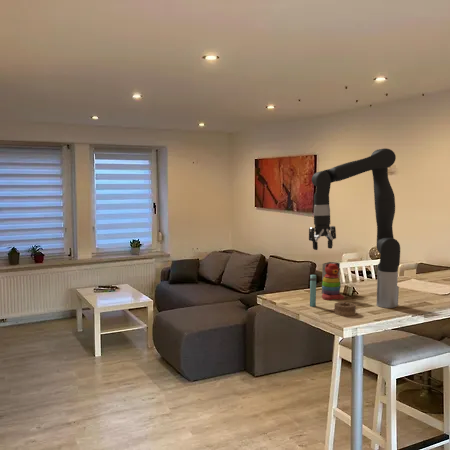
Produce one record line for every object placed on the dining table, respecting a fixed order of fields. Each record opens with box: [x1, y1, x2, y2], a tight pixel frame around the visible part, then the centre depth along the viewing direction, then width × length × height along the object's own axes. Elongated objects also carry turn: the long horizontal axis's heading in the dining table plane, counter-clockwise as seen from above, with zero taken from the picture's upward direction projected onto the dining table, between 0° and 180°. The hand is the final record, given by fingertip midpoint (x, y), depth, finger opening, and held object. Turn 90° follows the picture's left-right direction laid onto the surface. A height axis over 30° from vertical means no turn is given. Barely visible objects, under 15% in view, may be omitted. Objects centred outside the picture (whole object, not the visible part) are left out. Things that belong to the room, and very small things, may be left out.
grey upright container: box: [321, 261, 341, 294], centre depth 256 cm, size 9×6×16 cm
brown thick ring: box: [334, 301, 357, 317], centre depth 216 cm, size 9×9×4 cm
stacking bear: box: [321, 263, 345, 301], centre depth 245 cm, size 11×10×18 cm
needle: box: [309, 274, 317, 308], centre depth 228 cm, size 3×3×15 cm
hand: (322, 249), depth 222 cm, fingers open, 8 cm apart
